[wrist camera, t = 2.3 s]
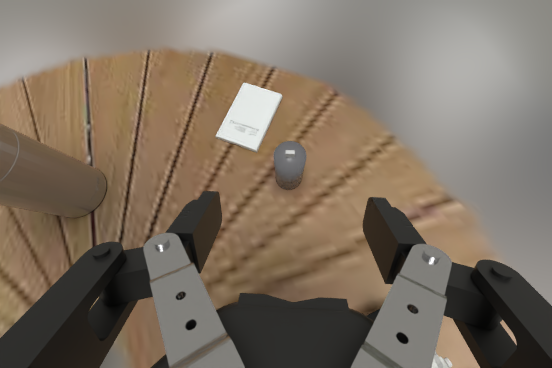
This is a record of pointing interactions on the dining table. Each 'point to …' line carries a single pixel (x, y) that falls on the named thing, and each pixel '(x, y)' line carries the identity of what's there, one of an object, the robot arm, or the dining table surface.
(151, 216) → the dining table surface
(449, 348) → the dining table surface
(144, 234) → the dining table surface
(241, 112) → the external hard drive
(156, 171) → the dining table surface
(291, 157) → the grey upright cylinder
